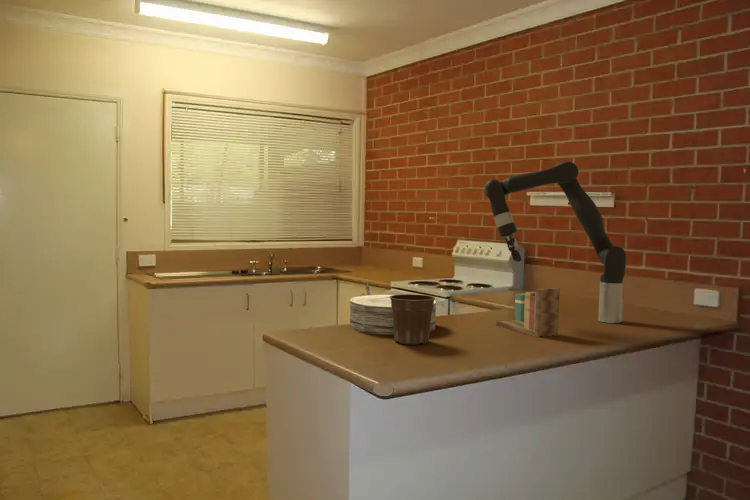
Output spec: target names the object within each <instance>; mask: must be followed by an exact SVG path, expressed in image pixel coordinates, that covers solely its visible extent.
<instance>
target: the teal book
mask: <svg viewBox="0 0 750 500" xmlns="http://www.w3.org/2000/svg"><path fill="white" fill-rule="evenodd" d="M514 299H515V300H514V320H517V321H521V322H524V307H525V293H515V298H514Z"/></svg>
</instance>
